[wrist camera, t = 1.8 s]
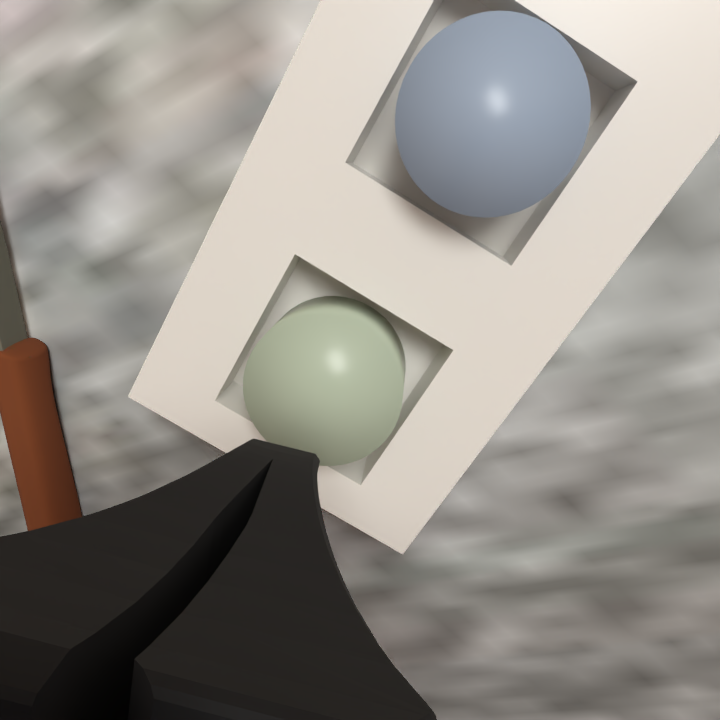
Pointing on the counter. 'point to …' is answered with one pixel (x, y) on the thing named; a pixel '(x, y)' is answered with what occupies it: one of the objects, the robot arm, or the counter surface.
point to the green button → (327, 380)
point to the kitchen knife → (31, 415)
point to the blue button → (492, 114)
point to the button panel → (430, 235)
